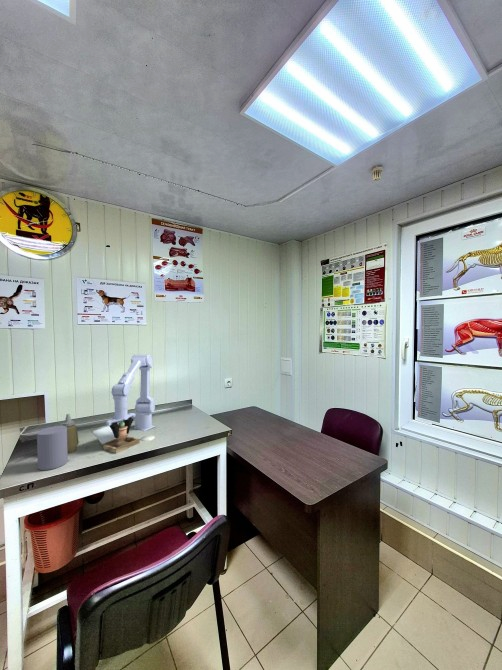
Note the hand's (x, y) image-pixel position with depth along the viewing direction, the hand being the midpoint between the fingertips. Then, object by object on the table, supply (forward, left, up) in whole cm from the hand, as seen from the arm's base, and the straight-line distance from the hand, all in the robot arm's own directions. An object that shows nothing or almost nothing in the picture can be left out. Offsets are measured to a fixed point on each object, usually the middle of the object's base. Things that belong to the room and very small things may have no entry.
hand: (121, 435), depth 131 cm
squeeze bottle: (-18, -15, -6) cm, 24 cm away
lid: (-9, 0, 0) cm, 9 cm away
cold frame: (-2, 0, -6) cm, 6 cm away
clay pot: (0, 0, -1) cm, 1 cm away
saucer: (+4, +12, -6) cm, 14 cm away
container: (-11, -25, -6) cm, 28 cm away
